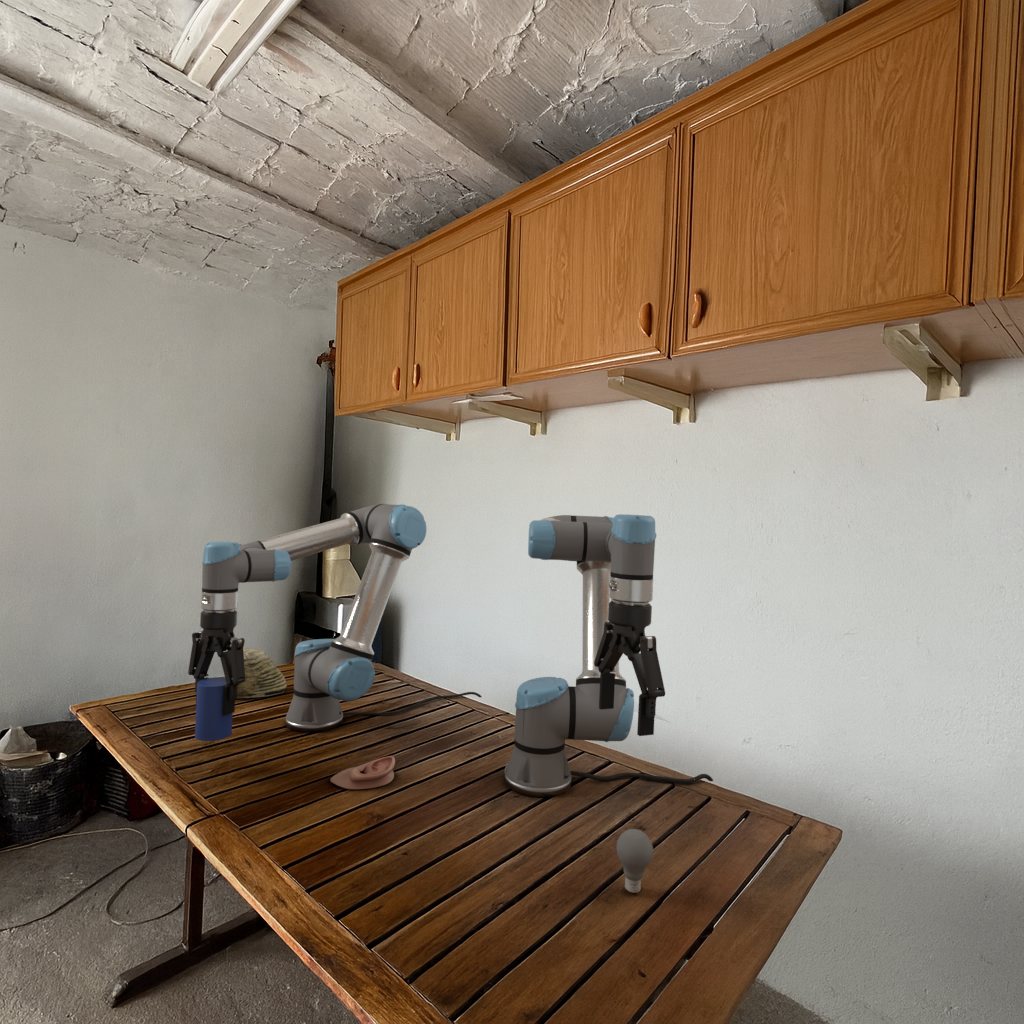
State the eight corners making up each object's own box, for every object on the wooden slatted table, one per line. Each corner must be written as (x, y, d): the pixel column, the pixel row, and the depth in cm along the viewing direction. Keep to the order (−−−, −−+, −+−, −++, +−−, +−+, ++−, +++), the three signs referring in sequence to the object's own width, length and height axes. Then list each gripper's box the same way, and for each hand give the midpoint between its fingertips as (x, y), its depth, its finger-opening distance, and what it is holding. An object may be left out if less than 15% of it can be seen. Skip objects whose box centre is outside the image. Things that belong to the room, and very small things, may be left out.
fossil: (218, 695, 195) (220, 647, 195) (278, 685, 208) (279, 640, 207) (228, 703, 189) (230, 653, 188) (289, 692, 201) (290, 645, 201)
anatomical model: (324, 767, 138) (348, 748, 150) (323, 785, 138) (347, 764, 150) (381, 775, 136) (401, 755, 147) (380, 794, 136) (400, 772, 147)
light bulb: (610, 879, 108) (613, 822, 108) (644, 879, 109) (647, 822, 109) (619, 902, 102) (622, 840, 102) (655, 901, 103) (658, 840, 103)
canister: (187, 736, 142) (189, 682, 142) (218, 726, 149) (220, 675, 149) (208, 743, 138) (210, 688, 138) (238, 733, 145) (241, 681, 145)
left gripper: (172, 607, 144) (168, 707, 144) (239, 617, 136) (235, 723, 136) (200, 603, 151) (196, 698, 151) (266, 612, 143) (261, 713, 143)
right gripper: (579, 591, 122) (574, 700, 123) (650, 615, 99) (644, 749, 99) (614, 591, 125) (609, 697, 125) (691, 614, 102) (684, 745, 102)
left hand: (214, 710), depth 144 cm, fingers closed on canister, 8 cm apart
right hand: (624, 721), depth 112 cm, fingers open, 13 cm apart
